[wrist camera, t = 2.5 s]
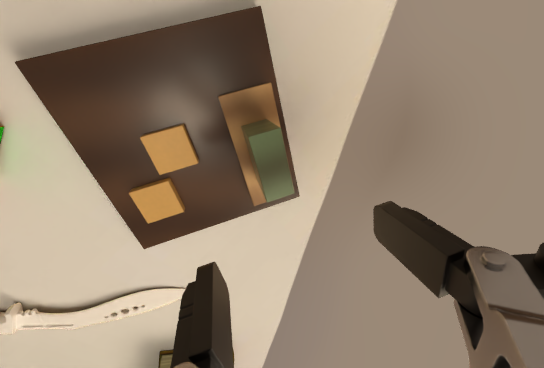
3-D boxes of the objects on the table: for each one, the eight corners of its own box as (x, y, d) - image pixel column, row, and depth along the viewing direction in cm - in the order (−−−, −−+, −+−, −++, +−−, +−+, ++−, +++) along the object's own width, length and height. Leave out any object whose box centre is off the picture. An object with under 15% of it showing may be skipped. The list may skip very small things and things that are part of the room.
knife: (198, 280, 32) (198, 290, 31) (196, 308, 34) (196, 318, 33) (-116, 305, 22) (-139, 320, 21) (-93, 341, 24) (-112, 358, 23)
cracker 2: (131, 188, 22) (128, 192, 21) (169, 177, 23) (168, 180, 22) (150, 218, 24) (147, 223, 23) (185, 207, 25) (184, 212, 24)
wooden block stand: (217, 95, 21) (218, 99, 15) (266, 82, 21) (287, 80, 15) (251, 198, 26) (262, 233, 20) (289, 185, 27) (312, 215, 21)
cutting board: (25, 63, 17) (13, 61, 16) (258, 9, 20) (260, 5, 19) (146, 242, 27) (143, 249, 26) (296, 192, 29) (299, 196, 28)
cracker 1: (142, 135, 21) (139, 137, 20) (183, 123, 21) (182, 125, 20) (161, 171, 22) (159, 175, 21) (199, 160, 23) (198, 163, 22)
